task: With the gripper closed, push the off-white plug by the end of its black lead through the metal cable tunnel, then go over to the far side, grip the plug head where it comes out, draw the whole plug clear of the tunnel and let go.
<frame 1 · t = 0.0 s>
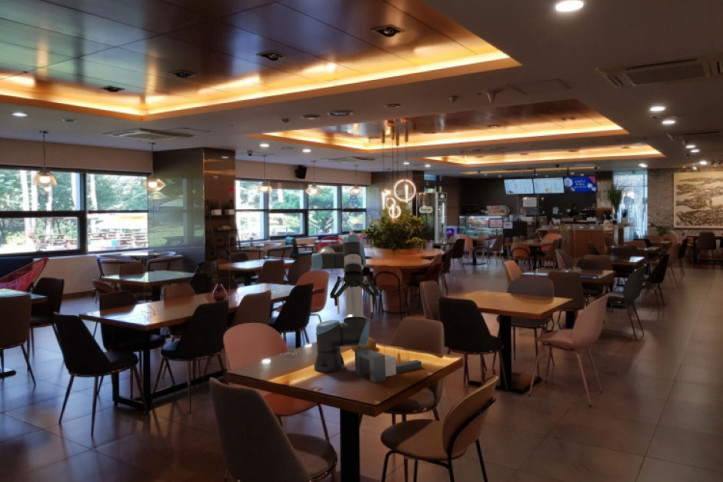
hand: (355, 311, 220), 36 cm above the table, tool tilted 35°, fingers open, 13 cm apart
golden lumpy mound: (363, 349, 305), on the table
plug: (386, 373, 256), on the table
cable tunnel: (370, 377, 251), on the table
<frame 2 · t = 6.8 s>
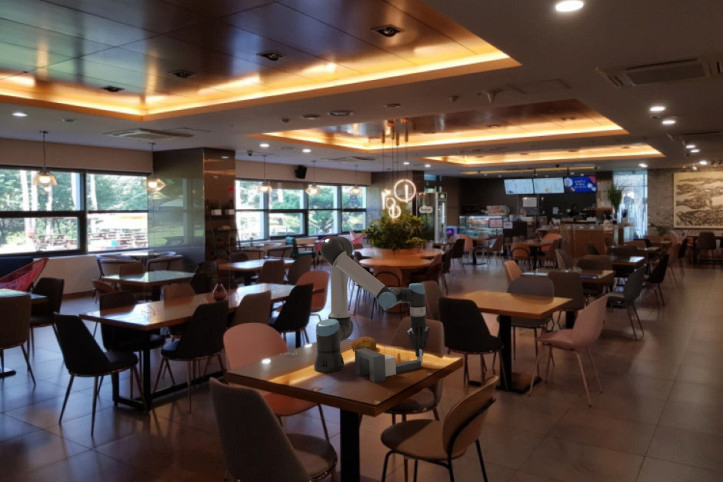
hand: (419, 362, 266), 2 cm above the table, tool pointing down, fingers closed
plug: (386, 373, 256), on the table, touching gripper
everything else where it was.
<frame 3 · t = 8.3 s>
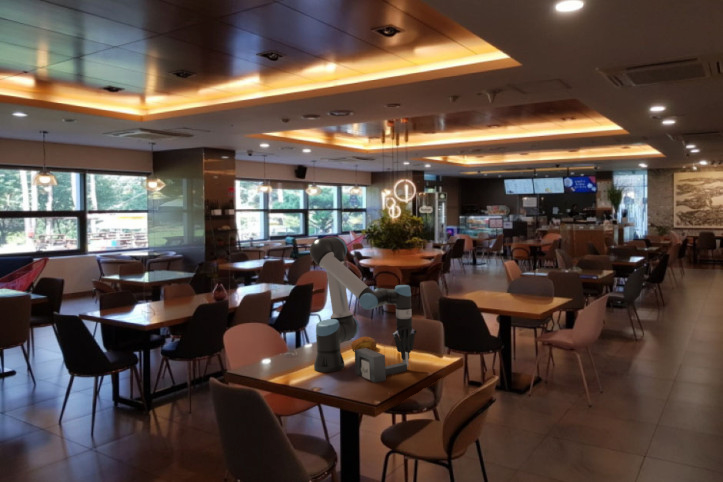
hand: (405, 365, 261), 2 cm above the table, tool pointing down, fingers closed
plug: (371, 377, 251), on the table, touching gripper
everything else where it was.
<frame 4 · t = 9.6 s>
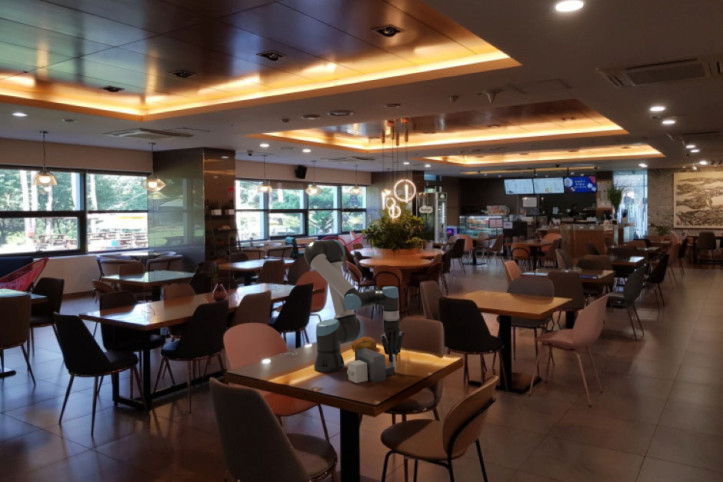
hand: (393, 368, 258), 2 cm above the table, tool pointing down, fingers closed
plug: (358, 380, 248), on the table, touching gripper
everything else where it was.
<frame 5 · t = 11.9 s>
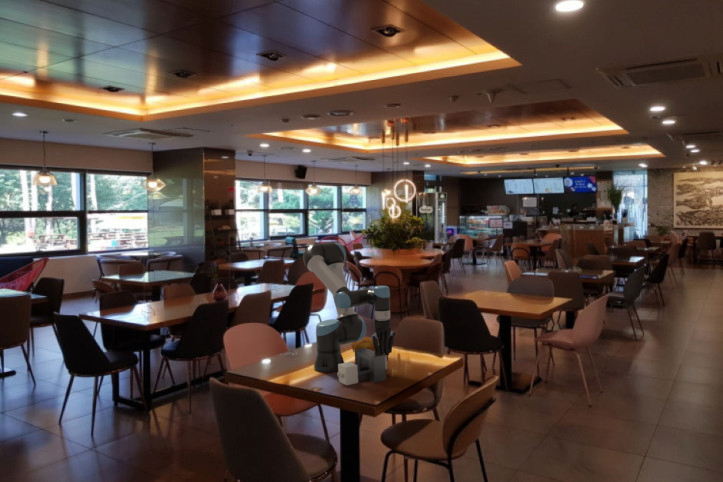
hand: (384, 368, 255), 3 cm above the table, tool pointing down, fingers closed
plug: (348, 382, 245), on the table, touching gripper
everything else where it was.
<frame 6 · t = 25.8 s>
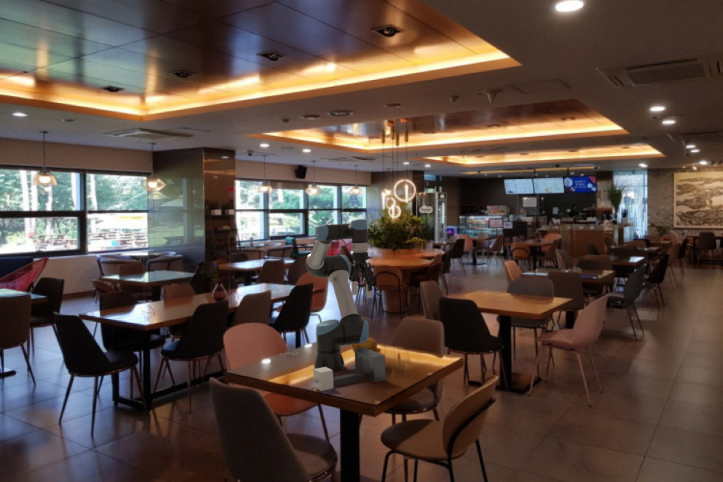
hand: (362, 296, 257), 37 cm above the table, tool pointing down, fingers open, 13 cm apart
plug: (323, 387, 239), on the table
at the end: plug inside the target area on the table beside the cable tunnel (3.8 cm from its centre), on the table; the gripper is holding nothing; plug tilted 0° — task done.
